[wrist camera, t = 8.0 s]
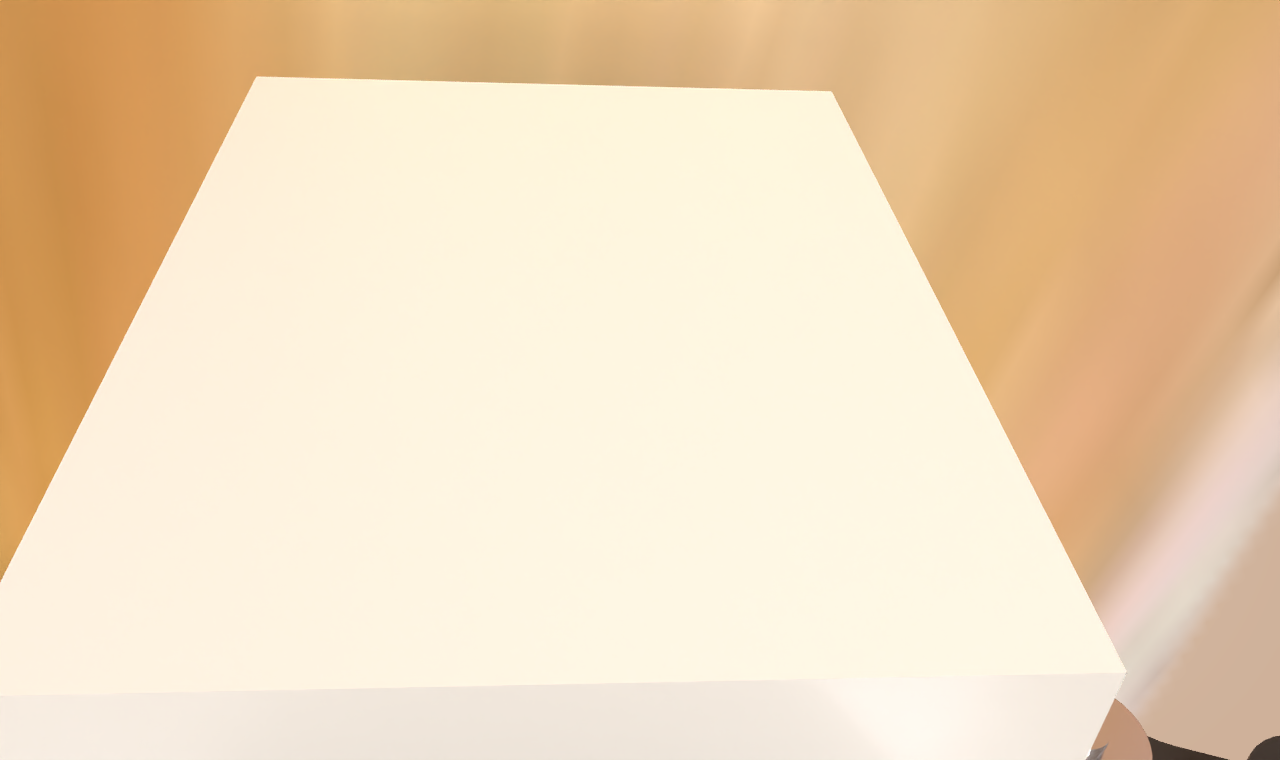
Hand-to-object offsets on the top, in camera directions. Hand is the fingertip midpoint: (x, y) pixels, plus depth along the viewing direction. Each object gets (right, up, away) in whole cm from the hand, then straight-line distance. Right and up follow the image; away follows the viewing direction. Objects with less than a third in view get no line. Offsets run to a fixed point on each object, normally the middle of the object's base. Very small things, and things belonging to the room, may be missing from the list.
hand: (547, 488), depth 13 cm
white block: (0, +2, +3) cm, 3 cm away
